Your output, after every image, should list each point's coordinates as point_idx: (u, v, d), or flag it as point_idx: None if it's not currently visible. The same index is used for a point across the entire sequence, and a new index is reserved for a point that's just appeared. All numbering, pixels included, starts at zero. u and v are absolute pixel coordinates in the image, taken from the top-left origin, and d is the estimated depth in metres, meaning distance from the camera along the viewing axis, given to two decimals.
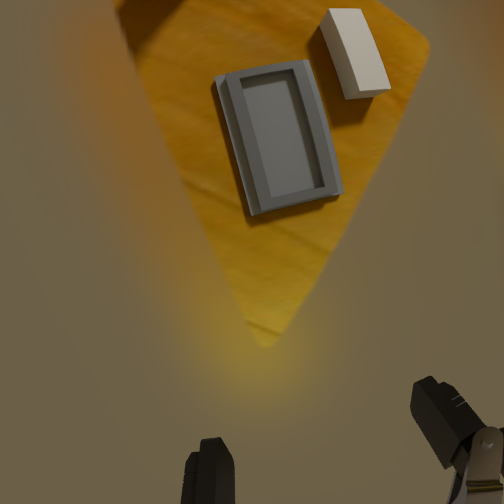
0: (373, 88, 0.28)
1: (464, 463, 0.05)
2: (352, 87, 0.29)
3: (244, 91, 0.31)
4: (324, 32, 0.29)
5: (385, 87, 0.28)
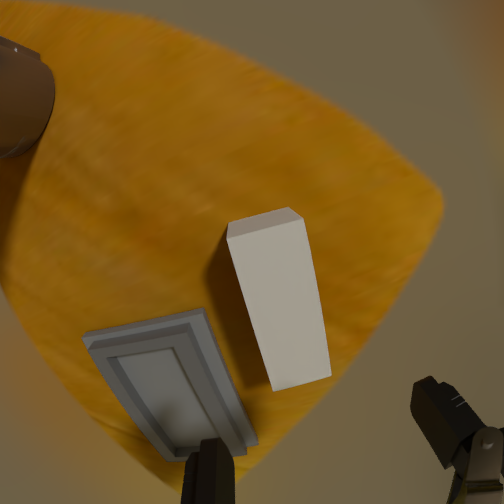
0: (298, 383, 0.20)
1: (464, 463, 0.05)
2: None
3: (120, 360, 0.23)
4: None
5: (321, 376, 0.20)
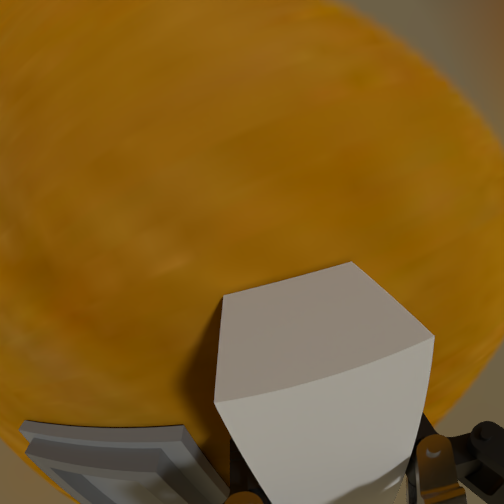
0: None
1: (414, 473, 0.06)
2: None
3: None
4: None
5: None
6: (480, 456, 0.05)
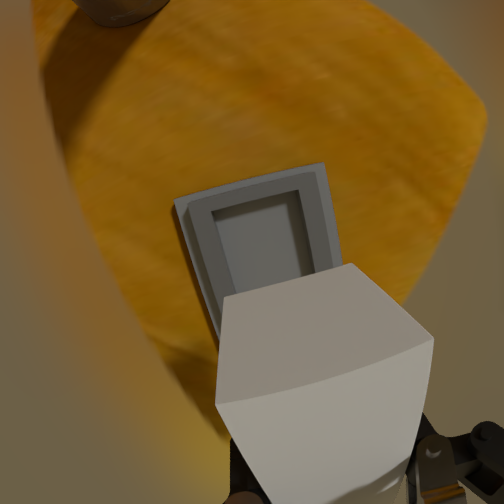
0: None
1: (414, 473, 0.06)
2: None
3: (220, 225, 0.22)
4: None
5: None
6: (480, 456, 0.05)
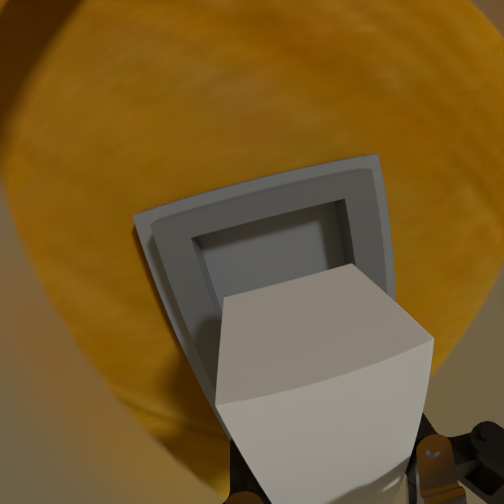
0: None
1: (413, 473, 0.06)
2: None
3: (210, 257, 0.13)
4: None
5: None
6: (480, 456, 0.05)
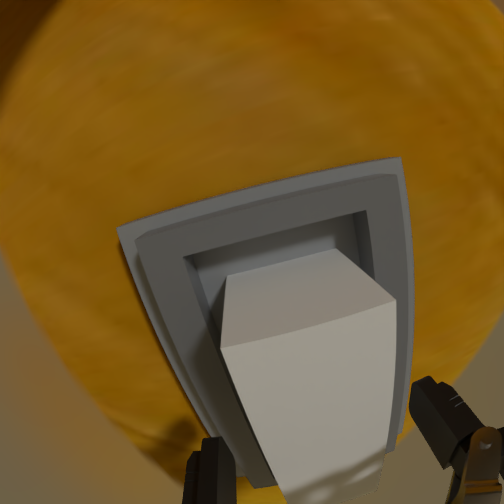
0: None
1: (462, 463, 0.05)
2: None
3: (206, 276, 0.11)
4: None
5: (363, 494, 0.10)
6: None
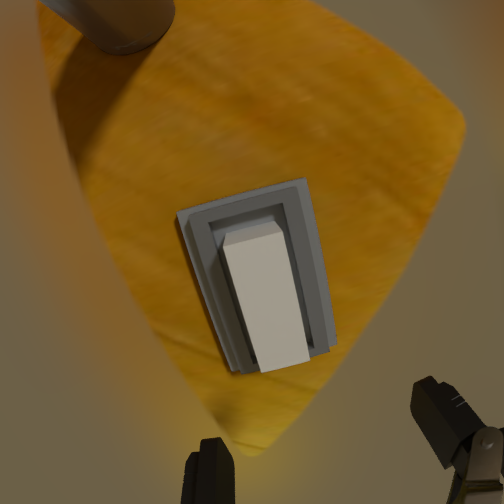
0: (282, 366, 0.24)
1: (464, 463, 0.05)
2: None
3: (217, 233, 0.26)
4: None
5: (301, 361, 0.24)
6: None
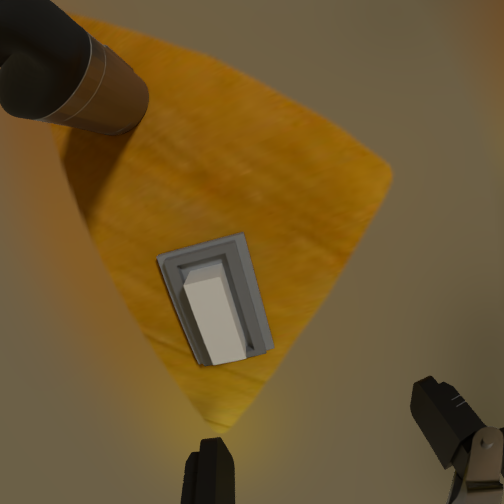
0: (227, 361, 0.36)
1: (464, 463, 0.05)
2: None
3: (184, 271, 0.38)
4: None
5: (239, 358, 0.36)
6: None
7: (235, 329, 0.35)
